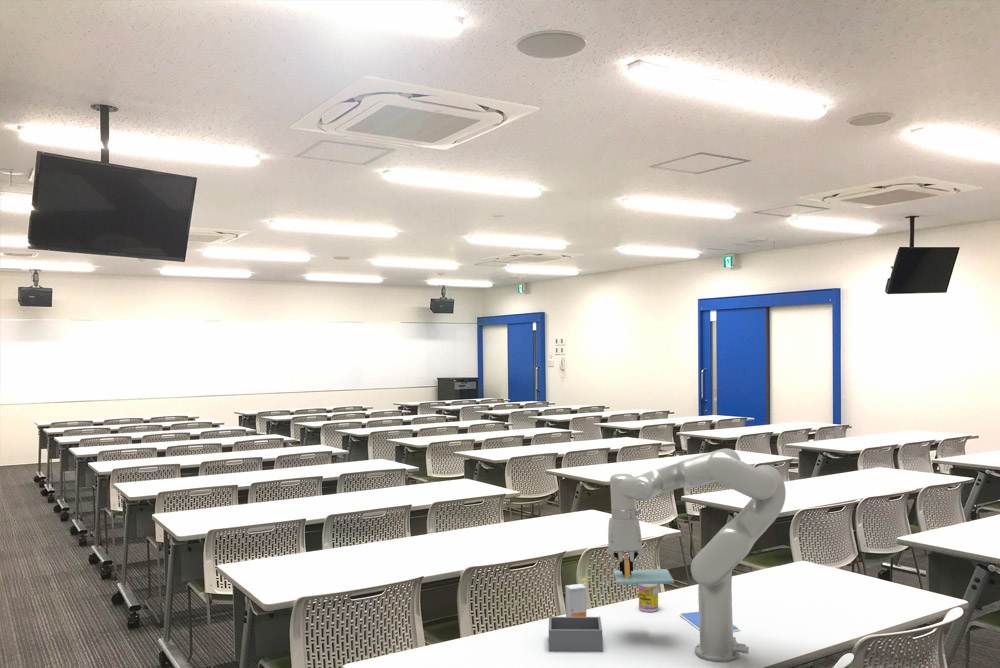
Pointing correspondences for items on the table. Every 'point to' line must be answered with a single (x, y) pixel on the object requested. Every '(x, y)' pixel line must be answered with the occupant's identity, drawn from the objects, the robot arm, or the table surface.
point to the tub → (575, 634)
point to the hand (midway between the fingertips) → (626, 573)
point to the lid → (642, 576)
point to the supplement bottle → (648, 597)
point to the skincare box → (575, 600)
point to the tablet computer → (694, 620)
